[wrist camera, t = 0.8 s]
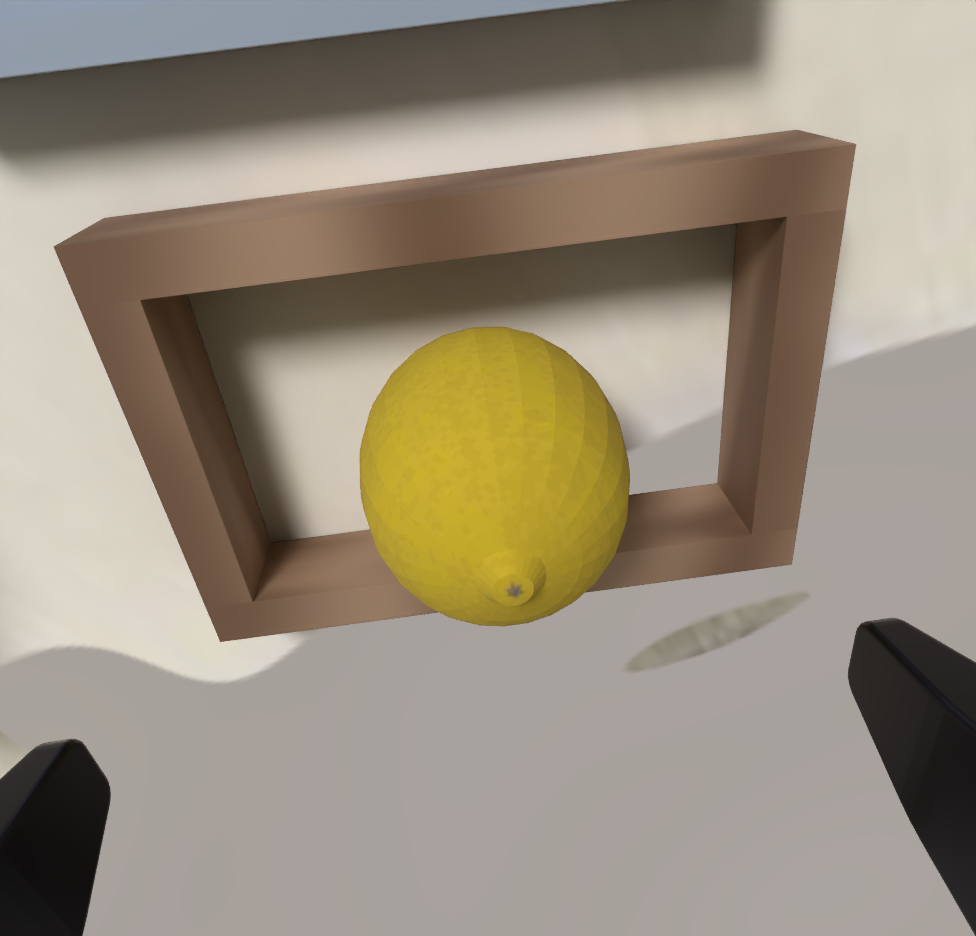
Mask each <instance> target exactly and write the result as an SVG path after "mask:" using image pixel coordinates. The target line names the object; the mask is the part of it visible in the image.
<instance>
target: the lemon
mask: <svg viewBox="0 0 976 936" xmlns="http://www.w3.org/2000/svg"><path fill="white" fill-rule="evenodd" d="M629 483H630V473H629V463H628V458H627V453H626V449H625V445H624V441H623V437H622V432H621V428H620V424H619V421H618V419H617V416H616V414H615V412H614V410H613V408H612V407H611V405H610V403H609V402H608V400H607V398H606V397H605V395H604V393H603V392H602V390H601V388H600V387H599V385H598V383H597V382H596V380H595V379H594V378H593V377H592V375H591V374H590V373H589V372H588V371H586V370H585V369H584V368H583V367H582V366H581V365H580V364H579V363H578V362H577V361H576V360H575V359H574V358H573V357H572V356H570V355H569V354H568V353H567V352H566V351H565V350H563V349H561V348H559V347H558V346H556V345H554V344H552V343H550V342H548V341H546V340H544V339H542V338H540V337H539V336H537V335H534V334H532V333H528V332H523V331H519V330H514V329H510V328H506V327H476V328H469V329H466V330H462V331H458V332H454V333H450V334H446V335H443V336H441V337H440V338H438V339H436V340H434V341H432V342H430V343H429V344H427V345H425V346H423V347H421V348H420V349H418V350H417V351H415V352H414V353H413V354H412V355H411V356H410V357H409V358H408V359H407V360H406V361H405V362H404V363H403V364H402V365H401V366H399V367H398V368H397V369H396V370H395V371H394V372H393V373H392V374H391V376H390V378H389V379H388V381H387V382H386V384H385V386H384V387H383V389H382V390H381V392H380V394H379V395H378V397H377V399H376V400H375V402H374V403H373V405H372V408H371V410H370V413H369V417H368V421H367V424H366V428H365V432H364V435H363V439H362V443H361V448H360V489H361V499H362V504H363V508H364V511H365V515H366V518H367V521H368V524H369V527H370V530H371V533H372V536H373V539H374V542H375V545H376V547H377V549H378V552H379V554H380V555H381V557H382V558H383V560H384V561H385V563H386V564H387V566H388V567H389V568H390V570H391V571H392V573H393V574H394V575H395V577H396V578H397V580H398V581H399V583H400V584H401V585H402V586H403V587H405V588H406V589H407V590H408V591H409V592H411V593H412V594H413V595H414V596H415V597H417V598H418V599H419V600H420V601H422V602H423V603H424V604H425V605H426V606H428V607H430V608H432V609H434V610H436V611H438V612H440V613H442V614H444V615H446V616H448V617H450V618H453V619H456V620H460V621H465V622H469V623H473V624H477V625H486V626H509V625H517V624H524V623H529V622H532V621H535V620H538V619H540V618H544V617H547V616H550V615H552V614H554V613H556V612H557V611H559V610H561V609H562V608H564V607H566V606H568V605H569V604H571V603H573V602H574V601H575V600H577V599H578V598H579V597H580V596H581V595H582V594H584V593H585V592H586V591H587V590H588V589H589V588H590V587H591V586H593V585H594V584H595V583H596V582H597V580H598V579H599V577H600V576H601V574H602V573H603V572H604V570H605V569H606V567H607V566H608V564H609V563H610V562H611V560H612V558H613V557H614V555H615V553H616V550H617V548H618V545H619V542H620V539H621V537H622V534H623V531H624V528H625V524H626V521H627V513H628V500H629Z"/></svg>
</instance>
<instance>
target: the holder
mask: <svg viewBox="0 0 976 936" xmlns="http://www.w3.org/2000/svg"><path fill="white" fill-rule="evenodd" d="M855 148H856V144H854V143H849V142H845V141H841V140H837V139H833V138H829V137H825V136H820V135H816V134H812V133H808V132H804V131H800V130H792V131H784V132H777V133H769V134H761V135H753V136H745V137H737V138H729V139H722V140H714V141H706V142H698V143H690V144H682V145H674V146H667V147H659V148H651V149H643V150H635V151H627V152H620V153H612V154H604V155H596V156H588V157H580V158H572V159H565V160H557V161H549V162H541V163H533V164H525V165H517V166H510V167H502V168H494V169H486V170H478V171H470V172H463V173H455V174H447V175H439V176H431V177H423V178H415V179H408V180H400V181H392V182H384V183H376V184H368V185H360V186H353V187H345V188H337V189H329V190H321V191H313V192H306V193H298V194H290V195H282V196H274V197H266V198H258V199H251V200H243V201H235V202H227V203H219V204H211V205H203V206H196V207H188V208H180V209H172V210H164V211H156V212H149V213H141V214H133V215H125V216H117V217H109V218H104V219H102V220H100V221H98V222H96V223H95V224H93V225H91V226H89V227H88V228H86V229H84V230H82V231H81V232H79V233H77V234H75V235H73V236H72V237H70V238H68V239H66V240H65V241H63V242H61V243H59V244H57V245H56V246H54V249H55V251H56V253H57V256H58V258H59V261H60V263H61V265H62V268H63V270H64V272H65V275H66V277H67V280H68V282H69V284H70V287H71V289H72V291H73V294H74V296H75V299H76V301H77V303H78V306H79V308H80V310H81V313H82V315H83V317H84V320H85V322H86V325H87V327H88V329H89V332H90V334H91V336H92V339H93V341H94V344H95V346H96V348H97V351H98V353H99V355H100V358H101V360H102V362H103V365H104V367H105V370H106V372H107V374H108V377H109V379H110V381H111V384H112V386H113V389H114V391H115V393H116V396H117V398H118V400H119V403H120V405H121V408H122V410H123V412H124V415H125V417H126V419H127V422H128V424H129V426H130V429H131V431H132V434H133V436H134V438H135V441H136V443H137V445H138V448H139V450H140V453H141V455H142V457H143V460H144V462H145V464H146V467H147V469H148V471H149V474H150V476H151V479H152V481H153V483H154V486H155V488H156V490H157V493H158V495H159V498H160V500H161V502H162V505H163V507H164V509H165V512H166V514H167V517H168V519H169V521H170V524H171V526H172V528H173V531H174V533H175V535H176V538H177V540H178V543H179V545H180V547H181V550H182V552H183V554H184V557H185V559H186V562H187V564H188V566H189V569H190V571H191V573H192V576H193V578H194V580H195V583H196V585H197V588H198V590H199V592H200V595H201V597H202V599H203V602H204V604H205V607H206V609H207V611H208V614H209V616H210V618H211V621H212V623H213V626H214V628H215V630H216V633H217V635H218V637H219V640H220V642H223V641H231V640H238V639H245V638H253V637H260V636H267V635H275V634H282V633H290V632H297V631H304V630H312V629H319V628H326V627H334V626H341V625H348V624H356V623H363V622H371V621H378V620H385V619H393V618H400V617H408V616H415V615H422V614H429V613H436V612H438V611H436V610H434V609H432V608H430V607H428V606H426V605H425V604H424V603H423V602H422V601H420V600H419V599H418V598H417V597H415V596H414V595H413V594H412V593H411V592H409V591H408V590H407V589H406V588H405V587H403V586H402V585H401V584H400V583H399V581H398V580H397V578H396V577H395V575H394V574H393V573H392V571H391V570H390V568H389V567H388V566H387V564H386V563H385V561H384V560H383V558H382V557H381V555H380V554H379V552H378V549H377V547H376V545H375V542H374V539H373V536H372V533H371V530H364V531H357V532H349V533H342V534H334V535H327V536H319V537H312V538H304V539H297V540H289V541H282V542H274V543H270V540H269V537H268V534H267V531H266V528H265V525H264V522H263V519H262V516H261V513H260V510H259V507H258V504H257V501H256V499H255V496H254V493H253V490H252V487H251V484H250V481H249V478H248V475H247V472H246V469H245V466H244V463H243V460H242V457H241V454H240V451H239V448H238V445H237V442H236V439H235V436H234V433H233V430H232V427H231V424H230V421H229V418H228V415H227V412H226V409H225V406H224V403H223V400H222V397H221V394H220V391H219V389H218V386H217V383H216V380H215V377H214V374H213V371H212V368H211V365H210V362H209V359H208V356H207V353H206V350H205V347H204V344H203V341H202V338H201V335H200V332H199V329H198V326H197V323H196V320H195V317H194V314H193V311H192V308H191V305H190V302H189V299H188V296H187V294H191V293H199V292H207V291H214V290H222V289H230V288H238V287H245V286H253V285H261V284H269V283H276V282H284V281H292V280H300V279H307V278H315V277H323V276H331V275H338V274H346V273H354V272H362V271H369V270H377V269H385V268H393V267H400V266H408V265H416V264H424V263H432V262H439V261H447V260H455V259H463V258H470V257H478V256H486V255H494V254H501V253H509V252H517V251H525V250H532V249H540V248H548V247H556V246H563V245H571V244H579V243H587V242H594V241H602V240H610V239H618V238H625V237H633V236H641V235H649V234H656V233H664V232H672V231H680V230H687V229H695V228H703V227H711V226H718V225H726V224H734V223H737V232H736V245H735V258H734V272H733V285H732V298H731V311H730V324H729V337H728V350H727V364H726V377H725V390H724V403H723V416H722V429H721V442H720V456H719V469H718V483H716V484H708V485H701V486H693V487H686V488H678V489H671V490H663V491H656V492H648V493H641V494H633V495H629V500H628V513H627V521H626V524H625V528H624V531H623V534H622V537H621V539H620V542H619V545H618V548H617V550H616V553H615V555H614V557H613V558H612V560H611V562H610V563H609V564H608V566H607V567H606V569H605V570H604V572H603V573H602V574H601V576H600V577H599V579H598V580H597V582H596V583H595V584H594V585H593V586H591V587H590V588H589V589H588V590H587V591H586V592H591V591H600V590H607V589H614V588H622V587H629V586H637V585H644V584H651V583H659V582H666V581H673V580H680V579H688V578H696V577H703V576H710V575H718V574H725V573H732V572H740V571H747V570H755V569H762V568H769V567H777V566H783V565H791V564H792V560H793V553H794V546H795V540H796V534H797V527H798V520H799V513H800V508H801V501H802V495H803V488H804V481H805V475H806V468H807V461H808V455H809V449H810V442H811V436H812V429H813V422H814V416H815V409H816V402H817V396H818V390H819V383H820V377H821V370H822V364H823V357H824V351H825V344H826V338H827V331H828V324H829V318H830V311H831V305H832V298H833V292H834V285H835V279H836V272H837V266H838V259H839V252H840V246H841V239H842V233H843V226H844V220H845V213H846V207H847V200H848V194H849V187H850V180H851V174H852V167H853V161H854V154H855Z"/></svg>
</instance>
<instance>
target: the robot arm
mask: <svg viewBox="0 0 976 936" xmlns="http://www.w3.org/2000/svg"><path fill="white" fill-rule="evenodd" d="M848 679H849V685H850V688H851V691H852V694H853V696H854V698H855V700H856V703H857V705H858V707H859V709H860V712H861V714H862V716H863V718H864V721H865V723H866V725H867V727H868V730H869V732H870V734H871V736H872V739H873V741H874V743H875V745H876V748H877V750H878V752H879V754H880V756H881V759H882V761H883V763H884V765H885V768H886V770H887V772H888V774H889V777H890V779H891V781H892V783H893V786H894V788H895V790H896V792H897V794H898V797H899V799H900V801H901V803H902V805H903V807H904V809H905V811H906V814H907V816H908V817H909V820H910V822H911V824H912V825H913V827H914V829H915V831H916V833H917V835H918V836H919V838H920V840H921V842H922V844H923V845H924V847H925V849H926V850H927V852H928V854H929V856H930V858H931V859H932V861H933V863H934V865H935V866H936V868H937V870H938V871H939V873H940V875H941V877H942V879H943V880H944V882H945V884H946V885H947V887H948V889H949V891H950V892H951V894H952V896H953V898H954V899H955V901H956V903H957V905H958V906H959V908H960V910H961V912H962V913H963V915H964V916H965V919H966V920H967V922H968V924H969V926H970V927H971V929H972V931H973V932H974V934H975V936H976V662H974V661H972V660H971V659H969V658H967V657H965V656H964V655H962V654H960V653H958V652H956V651H955V650H953V649H951V648H950V647H948V646H946V645H945V644H943V643H941V642H940V641H938V640H936V639H934V638H933V637H931V636H929V635H927V634H926V633H924V632H922V631H920V630H919V629H917V628H915V627H914V626H912V625H910V624H908V623H907V622H905V621H903V620H900V619H897V618H888V619H880V620H874V621H867V622H864V623H861V624H860V626H859V627H858V628H857V631H856V635H855V639H854V644H853V649H852V654H851V659H850V665H849V669H848ZM110 797H111V793H110V786H109V782H108V780H107V778H106V776H105V775H104V773H103V772H102V770H101V769H100V767H99V766H98V764H97V763H96V761H95V760H94V758H93V756H92V755H91V754H90V752H89V751H88V749H87V747H86V746H85V745H84V744H83V742H81V741H79V740H77V739H67V740H60V741H54V742H48V743H43V744H41V745H39V746H37V747H36V748H34V749H33V750H32V751H30V752H29V753H28V754H27V755H26V756H25V757H24V758H23V759H22V760H21V761H19V762H18V763H17V764H16V765H15V766H14V767H13V768H12V769H11V770H10V771H9V772H8V773H6V774H5V775H4V776H3V777H2V778H1V779H0V936H82V935H83V931H84V927H85V923H86V918H87V914H88V908H89V904H90V899H91V894H92V889H93V884H94V879H95V874H96V869H97V865H98V860H99V855H100V849H101V845H102V840H103V835H104V830H105V825H106V820H107V815H108V810H109V805H110Z"/></svg>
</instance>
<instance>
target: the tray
mask: <svg viewBox="0 0 976 936" xmlns="http://www.w3.org/2000/svg"><path fill="white" fill-rule="evenodd" d="M621 1H629V0H0V79H3V78H11V77H19V76H27V75H35V74H43V73H51V72H59V71H67V70H75V69H83V68H91V67H99V66H107V65H115V64H123V63H131V62H139V61H147V60H155V59H163V58H171V57H179V56H187V55H195V54H203V53H211V52H220V51H228V50H236V49H244V48H252V47H260V46H268V45H276V44H284V43H292V42H300V41H308V40H316V39H324V38H332V37H340V36H348V35H356V34H364V33H372V32H380V31H388V30H396V29H404V28H412V27H420V26H428V25H436V24H444V23H452V22H460V21H468V20H476V19H484V18H492V17H500V16H508V15H516V14H525V13H533V12H541V11H549V10H557V9H565V8H573V7H581V6H589V5H597V4H605V3H613V2H621Z"/></svg>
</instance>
